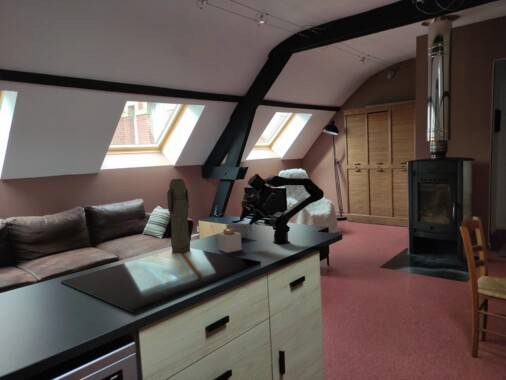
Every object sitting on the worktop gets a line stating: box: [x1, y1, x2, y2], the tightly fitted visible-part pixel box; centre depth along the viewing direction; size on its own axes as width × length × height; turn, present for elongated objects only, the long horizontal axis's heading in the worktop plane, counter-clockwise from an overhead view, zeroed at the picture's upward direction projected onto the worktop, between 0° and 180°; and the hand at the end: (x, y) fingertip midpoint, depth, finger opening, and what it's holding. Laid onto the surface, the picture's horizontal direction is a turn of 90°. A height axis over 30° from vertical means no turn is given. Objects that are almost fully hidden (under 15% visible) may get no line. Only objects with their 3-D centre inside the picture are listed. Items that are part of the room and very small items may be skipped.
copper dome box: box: [217, 232, 242, 254], centre depth 187 cm, size 8×10×8 cm
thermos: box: [166, 178, 191, 254], centre depth 185 cm, size 9×12×35 cm
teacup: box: [225, 222, 253, 240], centre depth 210 cm, size 14×11×8 cm
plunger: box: [222, 228, 235, 234], centre depth 186 cm, size 6×6×7 cm
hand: (244, 222), depth 188 cm, fingers open, 9 cm apart
